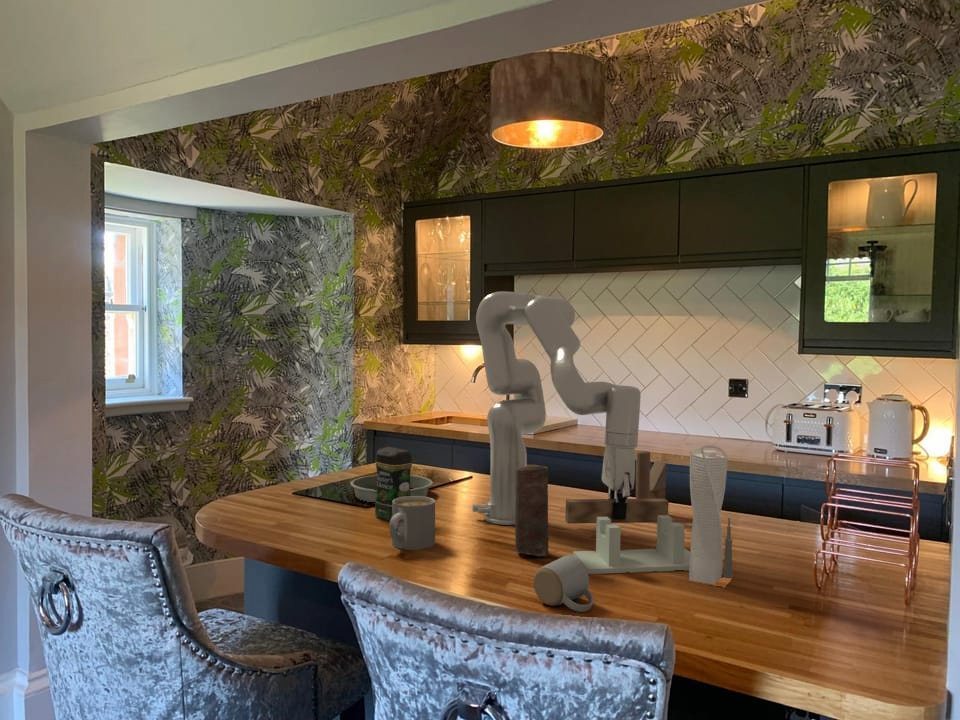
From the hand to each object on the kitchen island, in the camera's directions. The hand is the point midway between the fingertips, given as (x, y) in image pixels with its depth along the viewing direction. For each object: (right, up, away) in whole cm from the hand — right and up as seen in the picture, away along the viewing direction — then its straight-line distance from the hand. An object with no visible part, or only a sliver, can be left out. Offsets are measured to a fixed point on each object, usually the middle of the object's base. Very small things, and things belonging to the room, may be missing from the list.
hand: (616, 516), depth 168 cm
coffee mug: (-49, -6, -1) cm, 49 cm away
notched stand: (+2, -7, -12) cm, 15 cm away
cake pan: (-58, -5, +49) cm, 76 cm away
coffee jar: (-55, -5, +23) cm, 60 cm away
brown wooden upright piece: (+14, -6, +28) cm, 32 cm away
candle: (-20, -7, -7) cm, 23 cm away
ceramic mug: (-16, -8, -36) cm, 40 cm away
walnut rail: (0, -1, 0) cm, 1 cm away
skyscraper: (+14, -8, -23) cm, 28 cm away
